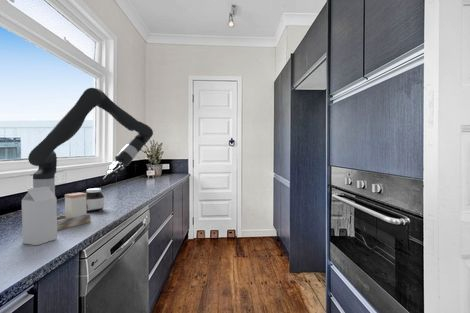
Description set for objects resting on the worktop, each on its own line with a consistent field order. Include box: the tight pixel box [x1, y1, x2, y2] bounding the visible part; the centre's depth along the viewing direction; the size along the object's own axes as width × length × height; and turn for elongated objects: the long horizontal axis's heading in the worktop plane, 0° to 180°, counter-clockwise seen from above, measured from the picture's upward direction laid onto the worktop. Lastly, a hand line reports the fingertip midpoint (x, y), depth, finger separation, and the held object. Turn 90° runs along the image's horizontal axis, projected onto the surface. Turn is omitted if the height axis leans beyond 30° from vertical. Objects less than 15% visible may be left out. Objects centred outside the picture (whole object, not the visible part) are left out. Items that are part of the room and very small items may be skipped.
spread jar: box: [85, 187, 105, 213], centre depth 133 cm, size 12×11×12 cm
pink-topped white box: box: [64, 192, 87, 219], centre depth 111 cm, size 6×6×11 cm
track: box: [57, 213, 92, 231], centre depth 107 cm, size 18×9×6 cm, turn 147°
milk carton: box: [21, 186, 58, 246], centre depth 88 cm, size 7×7×19 cm
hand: (104, 180), depth 122 cm, fingers closed
